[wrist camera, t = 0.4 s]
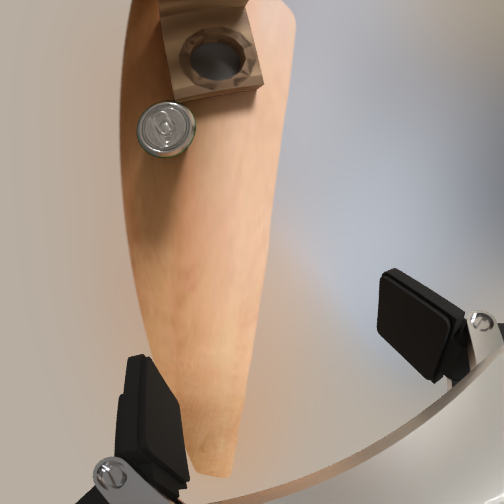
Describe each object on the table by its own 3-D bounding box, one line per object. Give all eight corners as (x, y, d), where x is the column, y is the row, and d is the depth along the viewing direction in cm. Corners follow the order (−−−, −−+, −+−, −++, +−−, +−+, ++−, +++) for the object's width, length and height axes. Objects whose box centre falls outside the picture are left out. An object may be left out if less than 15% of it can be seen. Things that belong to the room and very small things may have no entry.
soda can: (163, 165, 31) (156, 170, 20) (142, 133, 29) (123, 121, 18) (198, 142, 31) (208, 134, 20) (176, 109, 29) (176, 86, 18)
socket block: (160, 19, 23) (156, -30, 12) (237, 8, 25) (263, -38, 14) (175, 104, 29) (174, 78, 18) (256, 89, 30) (294, 62, 19)
